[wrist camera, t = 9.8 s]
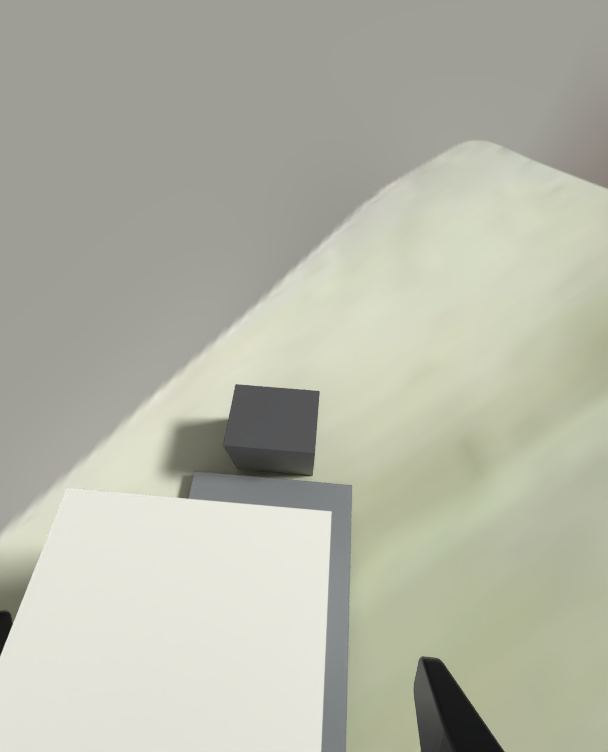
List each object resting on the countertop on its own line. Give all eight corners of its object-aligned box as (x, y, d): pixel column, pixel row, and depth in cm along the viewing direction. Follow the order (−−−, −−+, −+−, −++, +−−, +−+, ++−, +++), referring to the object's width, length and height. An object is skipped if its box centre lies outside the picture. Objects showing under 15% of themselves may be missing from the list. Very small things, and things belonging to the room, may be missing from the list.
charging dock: (342, 790, 13) (356, 867, 10) (132, 764, 14) (74, 828, 10) (351, 425, 20) (362, 394, 17) (212, 413, 21) (194, 381, 17)
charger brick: (305, 679, 14) (311, 965, 4) (191, 667, 15) (-99, 908, 4) (313, 551, 17) (331, 511, 6) (214, 542, 17) (66, 488, 6)
